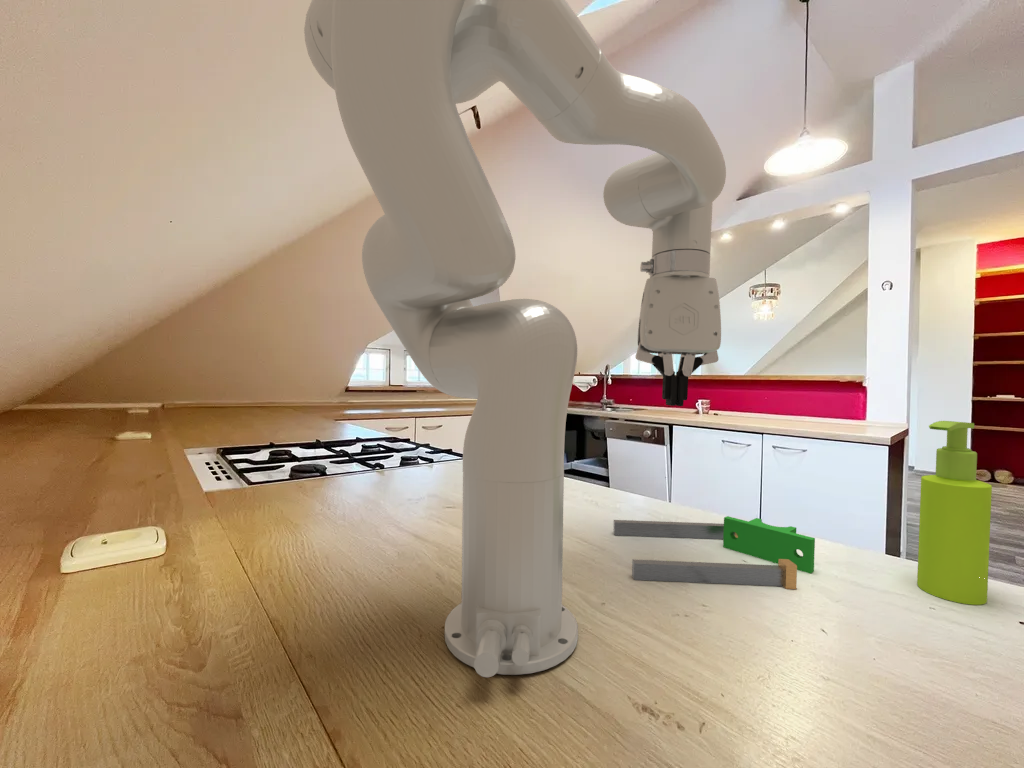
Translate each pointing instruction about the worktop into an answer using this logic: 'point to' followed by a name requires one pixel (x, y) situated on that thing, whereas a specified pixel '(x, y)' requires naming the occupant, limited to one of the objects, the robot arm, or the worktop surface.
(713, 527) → the chute
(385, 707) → the worktop surface
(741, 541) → the green block
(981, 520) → the soap dispenser
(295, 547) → the worktop surface
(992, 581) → the worktop surface
